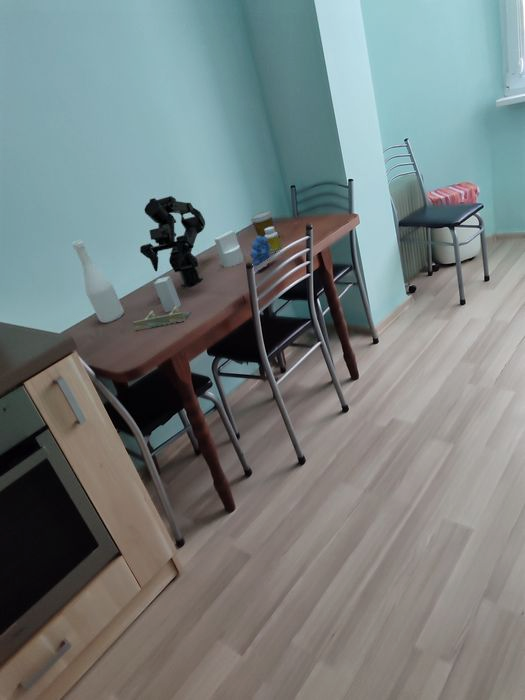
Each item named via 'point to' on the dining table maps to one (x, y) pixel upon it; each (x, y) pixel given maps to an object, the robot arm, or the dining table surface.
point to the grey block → (167, 293)
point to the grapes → (260, 250)
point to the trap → (161, 319)
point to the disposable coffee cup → (262, 222)
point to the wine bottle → (98, 288)
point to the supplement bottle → (272, 239)
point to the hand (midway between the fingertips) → (167, 268)
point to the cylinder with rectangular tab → (229, 249)
